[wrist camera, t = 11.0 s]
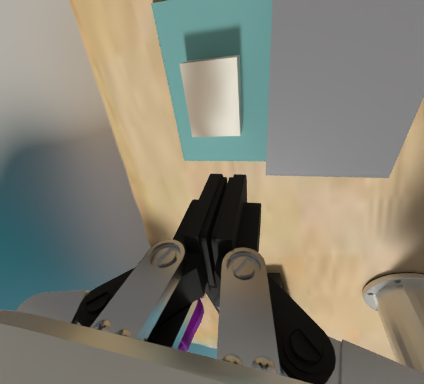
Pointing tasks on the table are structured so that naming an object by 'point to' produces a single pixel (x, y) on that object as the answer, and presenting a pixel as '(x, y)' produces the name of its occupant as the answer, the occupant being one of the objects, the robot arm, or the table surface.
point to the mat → (211, 48)
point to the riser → (343, 85)
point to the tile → (213, 96)
